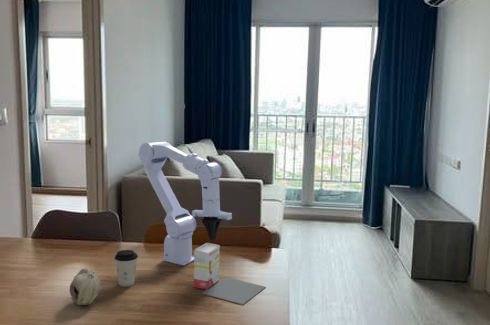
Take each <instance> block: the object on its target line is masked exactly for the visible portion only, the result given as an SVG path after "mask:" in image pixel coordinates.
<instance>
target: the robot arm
mask: <svg viewBox="0 0 490 325" xmlns="http://www.w3.org/2000/svg"><path fill="white" fill-rule="evenodd" d="M138 157H139V159H140V161H141V163H142V164H143V165H142V166H143V169H144V173H145V175H146V176H147V178H148V180H149V182H150V184H151V186H152V188H153V190H154V191H155V195H156V196H157V198H158V200H159V202H160V203H161V206H162V207H163V210H164V211H165V213H166V216H165V218H164V219H163V222H164V224H165V228H166V233H167V235H166V236H165V238H164V242H163V258H162V261H163V262H166V263H167V262H168V263H171V264H176V265H180V266H186V265H187V264H190V263H191V262H194V256H193V254H192V252H193V250H192V248H193V242H192V239H193V238H192V236H193V235H194V231H195V230H196V229H197V221H196V219H195V218H196V217H200V218H201V217H202V219H201V223H202V224H203V225H204V228H205V230H206V233H207V236H208V240H211V241H213V240H214V241H215V240H216V239H217V234H218V230H219V226H220V224H221V222H222V220H226V221H229V220H232V219H233V213H232V212H227V211H222V210H221V203H220V202H221V201H220V200H221V198H220V178H221V177H222V174H223V169H222V166H221V165H220V163H218V162H217V161H211V162H210V161H209V160H208V159H206V158H205V159H204V158H202V157H200V156H198V153H195V152H194V153H188V154H186V153H185V152H183V151H181V150H179V148H176V147H174V146H173V145H171V143H169V142H167V141H165V140H161V141H152V142H143V143H141V144H140V147H139V150H138ZM167 158H169V159H171V160H173V161H175V162H178V163H180V164H182V165H183V169H185V170H186V171H188V172H190V173H193V174H194V175H196V176H197V178H198V179H199V181H200V185H201V197H202V199H201V200H202V209H194V210H192V211H191V214H190V212H189V210H188V209H185V208H183V207H182V206H181V204H180V203H179V201H178V199H177V197H176V194H175V193H174V192H173V189H172V187H171V185H170V183H169V182H168V179H167V178H166V176H165V174H164V172H163V169H162V168H163V166H164V165H165V163H166V161H167Z"/></svg>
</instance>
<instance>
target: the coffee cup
mask: <svg viewBox="0 0 490 325" xmlns="http://www.w3.org/2000/svg"><path fill="white" fill-rule="evenodd" d="M138 257H139V256H138V254H137V253H136V252H135V250H132V249H123V250H118V252H117V253H116V254H115V256H114V260H115V266H116V273H117V281H118V284H119V286H120V287H124V288H125V287H126V288H127V287H130V286H133V285H134V284H135V281H136V280H135V279H136V271H137V262H138Z"/></svg>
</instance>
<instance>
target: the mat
mask: <svg viewBox="0 0 490 325" xmlns="http://www.w3.org/2000/svg"><path fill="white" fill-rule="evenodd" d="M265 289H266V286H265V285H259V284H257V283H256V284H255V283H252V282H248V281H244V280H239V279H236V278H232V277H224V279H221V281H220V280H219V281H217V282H216V283H215V284H214V285H212V286H211V287H210V288H209V289H207V290H206V289H205V290H204V291H203V292H202V293H201V295H204V296H208V297H212V298H214V299H220V300H222V301H226V302H230V303H233V304H237V305H241V306H244V305H245V304H246V303H248V302H249V301H251V300H252V299H253V298H254V297H256V296H257V295H258V294H260V293H261V292H262V291H264V290H265Z"/></svg>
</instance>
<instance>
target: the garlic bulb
mask: <svg viewBox="0 0 490 325" xmlns="http://www.w3.org/2000/svg"><path fill="white" fill-rule="evenodd" d="M68 290H69V294H70V296H71V297H70V299H71V301H73V303H75V304H77V306H86V305H89V306H90V305H91V304H92V303H93V302H94V301H95V299H96V298H97V297H98V295H99V292H100V290H101V281H100V278H98V277H97V275H95V271H94V270H92V269H91V268H86V267H83V268H81V269H80V270H79V271H78V273H77V274H76V275H74V277H73V280H72V281H71V283H70V285H69V289H68Z"/></svg>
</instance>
